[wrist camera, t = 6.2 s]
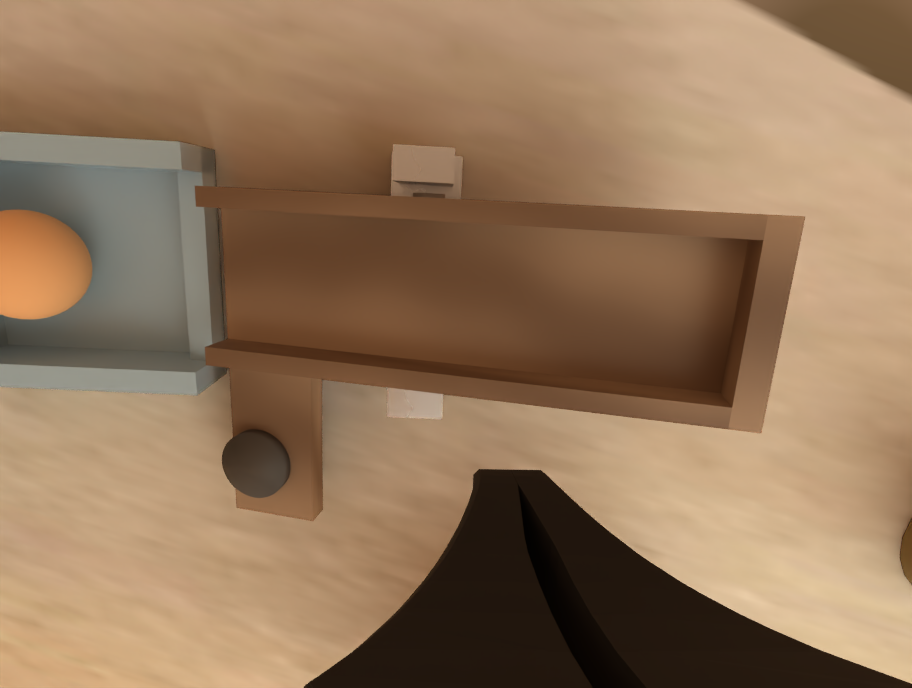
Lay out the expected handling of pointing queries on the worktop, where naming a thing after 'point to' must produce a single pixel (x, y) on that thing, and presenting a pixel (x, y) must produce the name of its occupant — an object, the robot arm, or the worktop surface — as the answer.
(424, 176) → the fulcrum
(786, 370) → the worktop surface
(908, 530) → the olive green pepper shaker
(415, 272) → the lever
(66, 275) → the ball
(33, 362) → the dish
